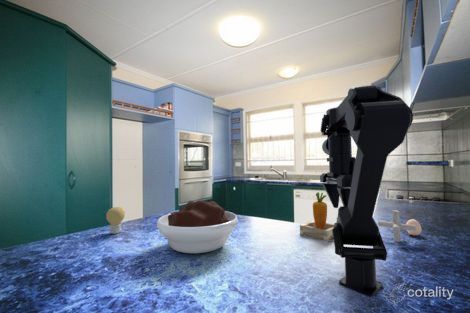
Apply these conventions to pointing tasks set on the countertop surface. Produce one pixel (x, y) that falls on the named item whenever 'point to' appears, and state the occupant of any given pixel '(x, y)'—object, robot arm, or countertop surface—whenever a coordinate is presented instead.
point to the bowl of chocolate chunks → (197, 227)
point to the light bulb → (115, 219)
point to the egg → (418, 227)
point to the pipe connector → (396, 226)
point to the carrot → (320, 211)
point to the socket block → (317, 231)
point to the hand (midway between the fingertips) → (342, 211)
